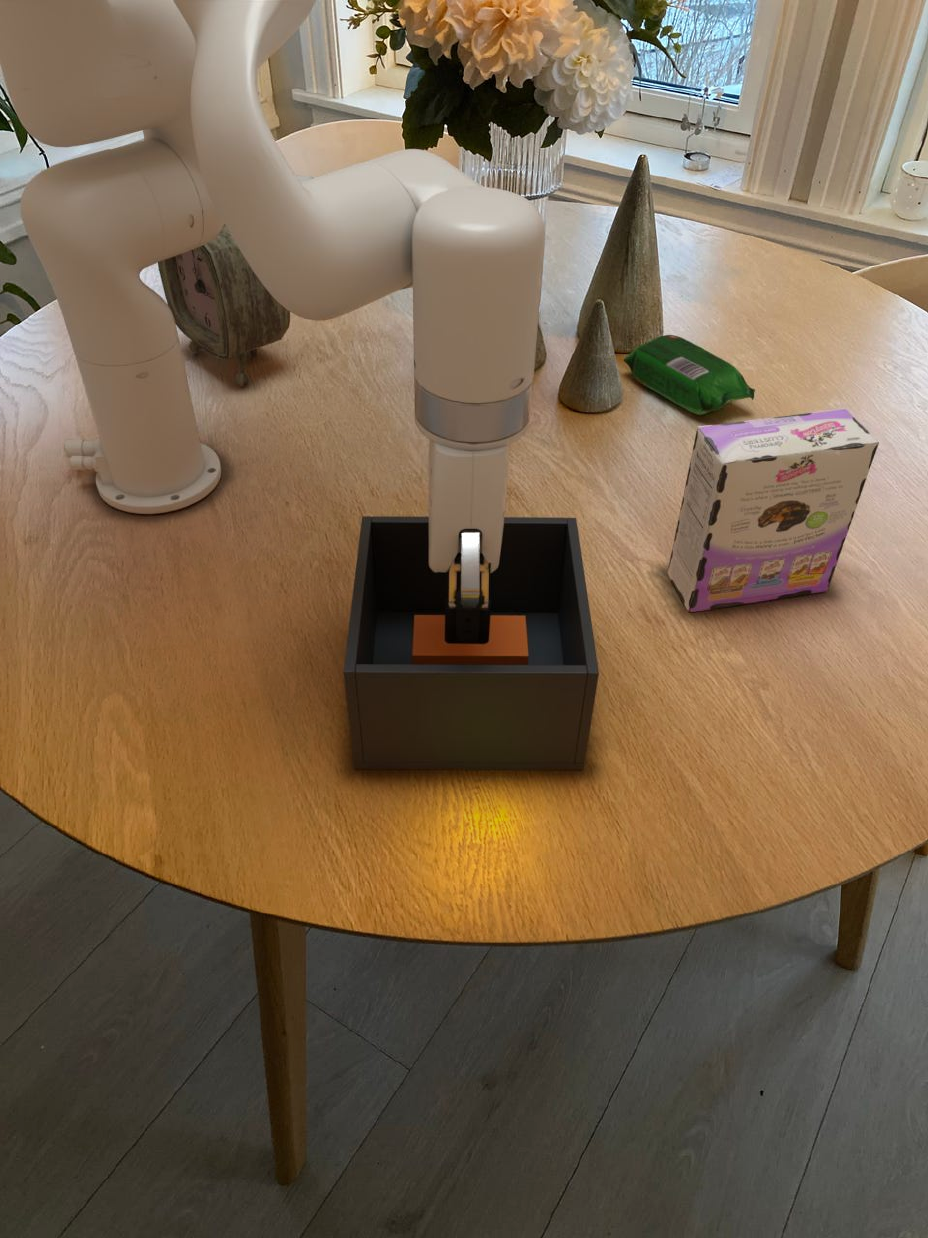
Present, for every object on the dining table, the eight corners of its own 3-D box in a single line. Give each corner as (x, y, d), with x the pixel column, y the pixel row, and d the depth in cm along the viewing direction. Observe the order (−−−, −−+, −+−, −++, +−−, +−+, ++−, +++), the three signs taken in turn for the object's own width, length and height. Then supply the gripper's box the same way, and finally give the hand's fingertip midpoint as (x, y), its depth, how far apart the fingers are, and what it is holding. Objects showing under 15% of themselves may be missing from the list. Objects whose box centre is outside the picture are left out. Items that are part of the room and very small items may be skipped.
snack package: (709, 434, 108) (719, 393, 104) (616, 376, 117) (622, 336, 113) (753, 416, 111) (763, 375, 107) (658, 360, 120) (665, 321, 117)
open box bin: (353, 769, 73) (343, 672, 66) (369, 612, 86) (362, 515, 78) (583, 770, 73) (599, 673, 66) (565, 613, 86) (576, 517, 79)
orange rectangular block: (413, 698, 77) (412, 655, 74) (415, 657, 81) (414, 614, 77) (525, 699, 77) (528, 656, 74) (522, 658, 81) (525, 615, 77)
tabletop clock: (176, 352, 120) (131, 138, 103) (238, 330, 125) (204, 122, 107) (239, 397, 112) (202, 175, 95) (302, 372, 117) (278, 155, 100)
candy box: (799, 554, 93) (847, 404, 81) (828, 594, 88) (884, 441, 77) (664, 573, 90) (695, 421, 79) (688, 614, 86) (724, 461, 75)
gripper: (418, 332, 67) (420, 524, 79) (409, 477, 55) (413, 679, 67) (524, 334, 68) (510, 525, 79) (539, 479, 55) (520, 680, 67)
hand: (466, 595), depth 73 cm, fingers open, 9 cm apart
